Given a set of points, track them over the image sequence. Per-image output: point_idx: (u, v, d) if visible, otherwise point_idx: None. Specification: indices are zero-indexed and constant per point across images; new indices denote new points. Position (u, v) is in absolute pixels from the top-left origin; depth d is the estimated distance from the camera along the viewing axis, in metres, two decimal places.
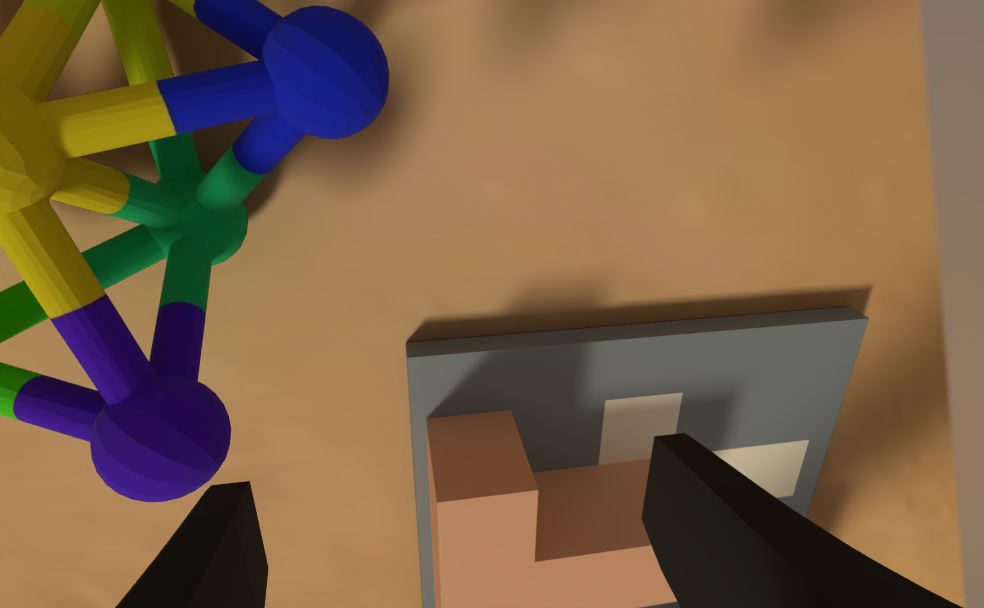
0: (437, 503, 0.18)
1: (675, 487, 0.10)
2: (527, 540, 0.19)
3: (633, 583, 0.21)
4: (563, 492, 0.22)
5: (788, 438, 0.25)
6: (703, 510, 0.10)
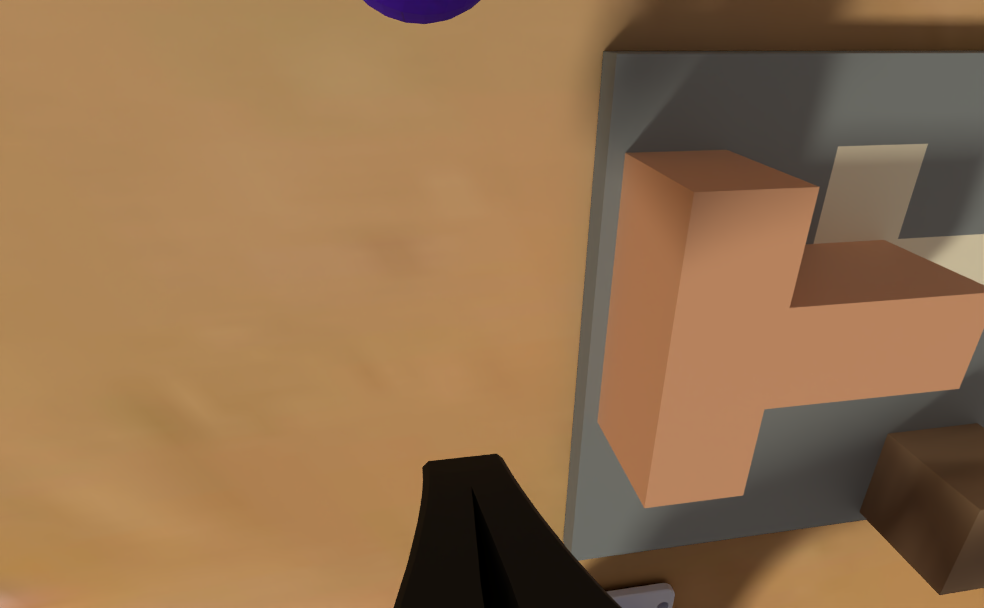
0: (693, 195, 0.13)
1: None
2: (789, 270, 0.14)
3: (895, 356, 0.16)
4: None
5: None
6: (483, 539, 0.09)
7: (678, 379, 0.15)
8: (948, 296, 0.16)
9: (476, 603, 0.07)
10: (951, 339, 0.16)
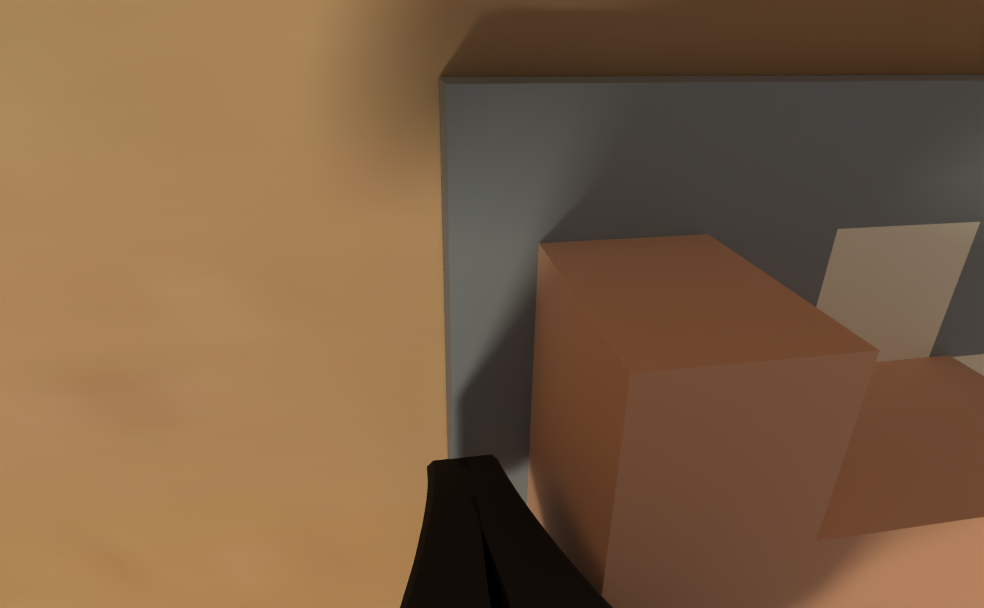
0: (629, 377, 0.07)
1: None
2: (816, 487, 0.08)
3: None
4: None
5: None
6: None
7: None
8: None
9: (483, 602, 0.07)
10: None
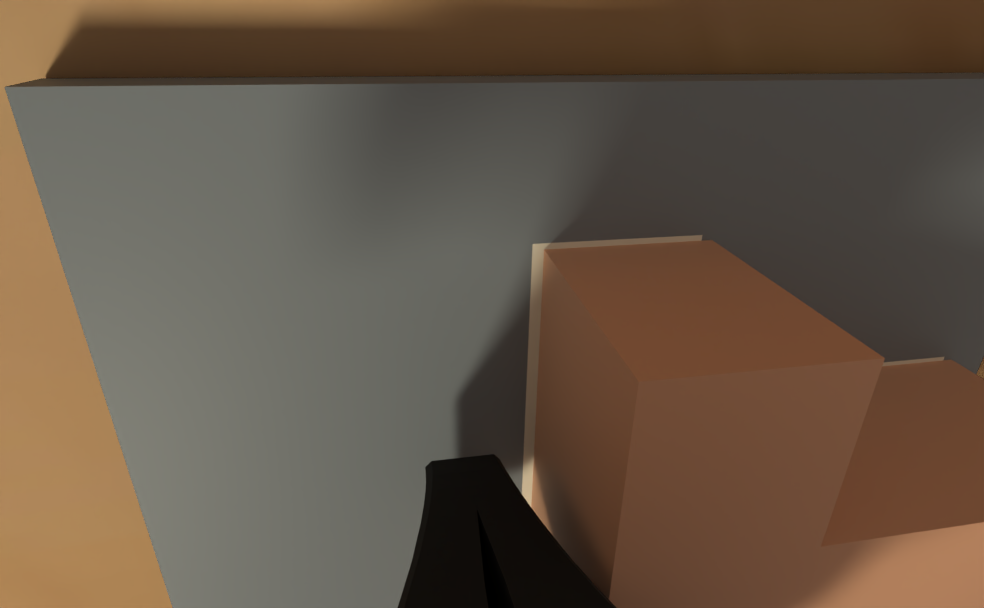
0: (638, 385, 0.07)
1: None
2: (822, 493, 0.08)
3: None
4: None
5: (906, 352, 0.12)
6: (479, 540, 0.09)
7: None
8: None
9: (480, 602, 0.07)
10: None
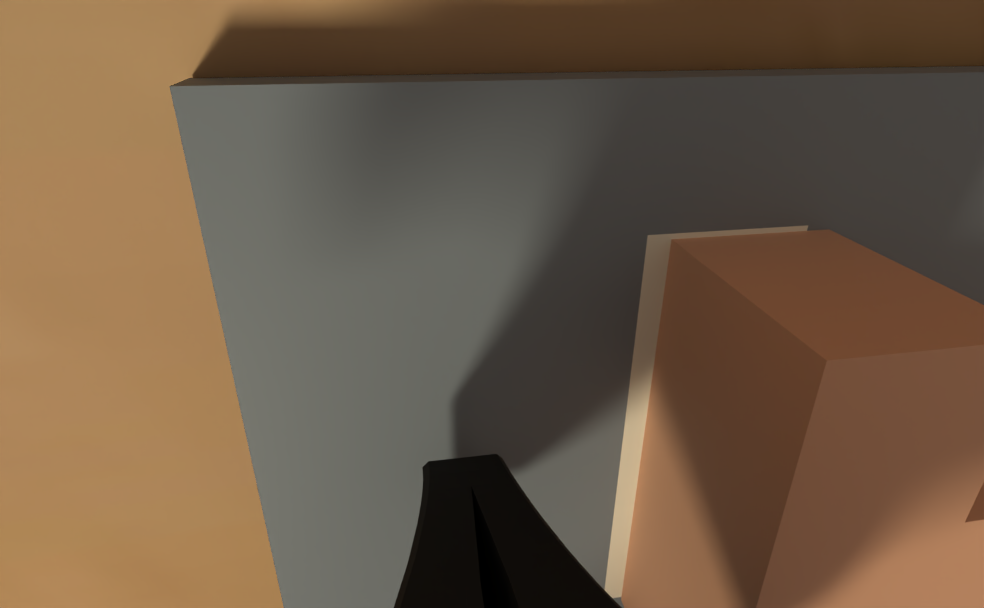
0: (823, 364, 0.07)
1: None
2: (974, 470, 0.08)
3: None
4: None
5: None
6: (483, 539, 0.09)
7: None
8: None
9: (476, 603, 0.07)
10: None
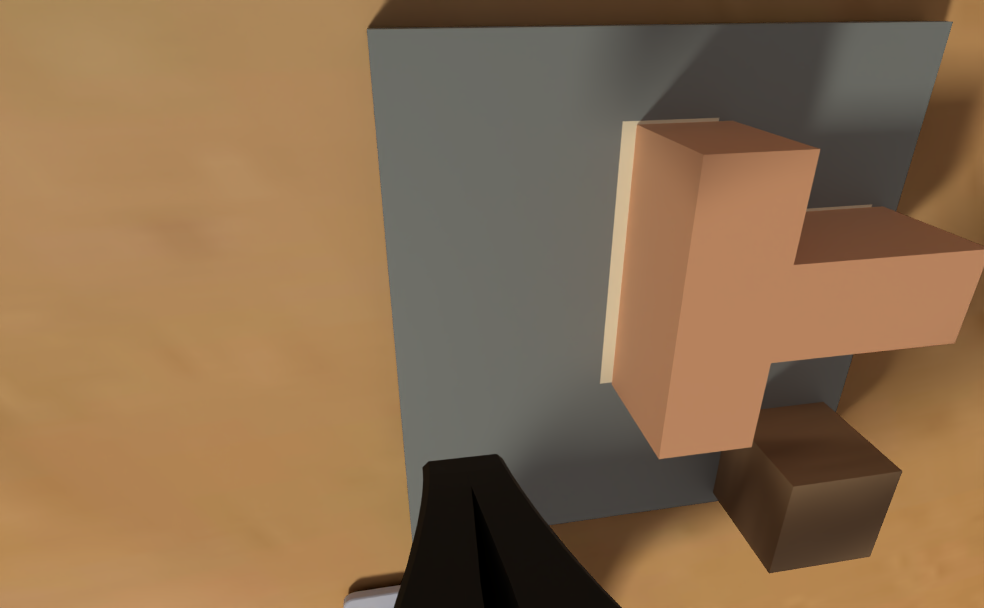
0: (702, 158, 0.14)
1: None
2: (792, 229, 0.15)
3: (893, 311, 0.17)
4: None
5: (847, 200, 0.20)
6: (483, 540, 0.09)
7: (691, 333, 0.16)
8: (943, 253, 0.17)
9: (476, 603, 0.07)
10: (946, 295, 0.17)
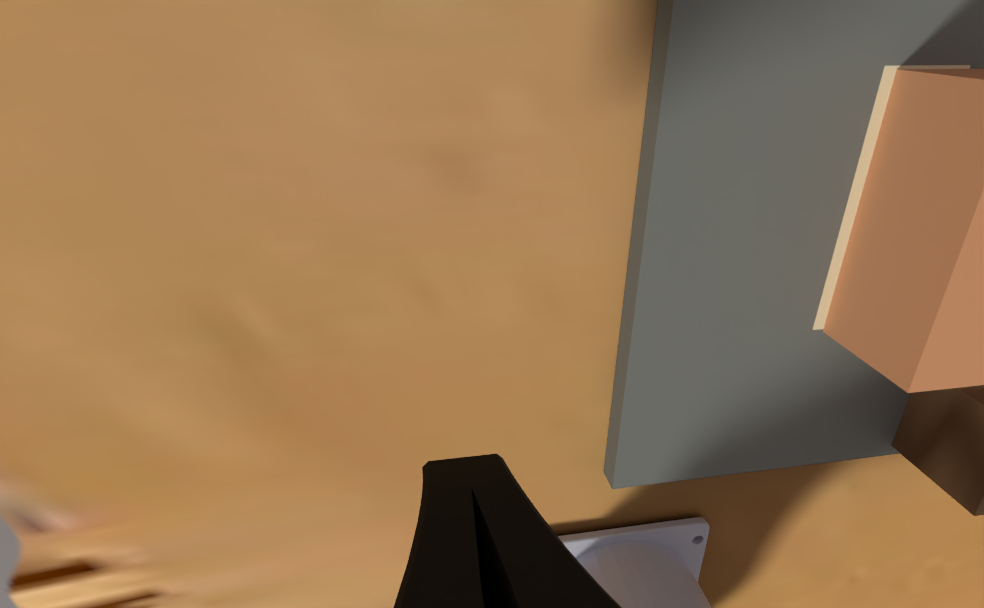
0: None
1: None
2: None
3: None
4: None
5: None
6: (483, 539, 0.09)
7: (967, 265, 0.17)
8: None
9: (476, 603, 0.07)
10: None
